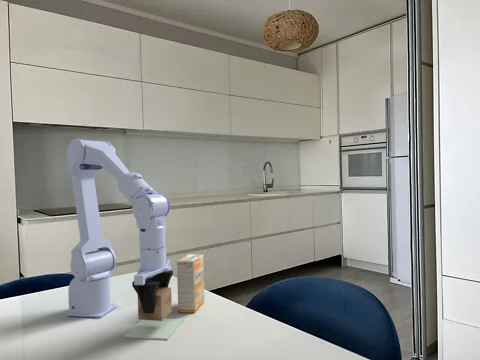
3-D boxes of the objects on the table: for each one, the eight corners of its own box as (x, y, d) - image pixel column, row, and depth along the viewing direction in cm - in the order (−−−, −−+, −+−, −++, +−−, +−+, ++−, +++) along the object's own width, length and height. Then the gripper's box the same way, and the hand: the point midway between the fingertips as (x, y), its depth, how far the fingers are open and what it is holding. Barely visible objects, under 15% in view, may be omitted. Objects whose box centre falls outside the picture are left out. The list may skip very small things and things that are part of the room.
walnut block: (138, 319, 78) (137, 294, 78) (149, 310, 84) (149, 286, 83) (161, 321, 77) (161, 295, 77) (171, 311, 82) (171, 287, 82)
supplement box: (195, 313, 89) (194, 260, 89) (177, 312, 90) (175, 260, 90) (205, 301, 97) (204, 253, 97) (188, 301, 98) (187, 253, 98)
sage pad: (123, 337, 76) (123, 335, 76) (144, 318, 86) (144, 317, 86) (167, 339, 74) (167, 338, 74) (183, 320, 84) (183, 319, 84)
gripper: (155, 254, 72) (158, 321, 72) (180, 241, 87) (182, 297, 87) (123, 254, 74) (126, 319, 74) (153, 241, 88) (155, 296, 88)
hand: (154, 307), depth 80 cm, fingers closed on walnut block, 5 cm apart
